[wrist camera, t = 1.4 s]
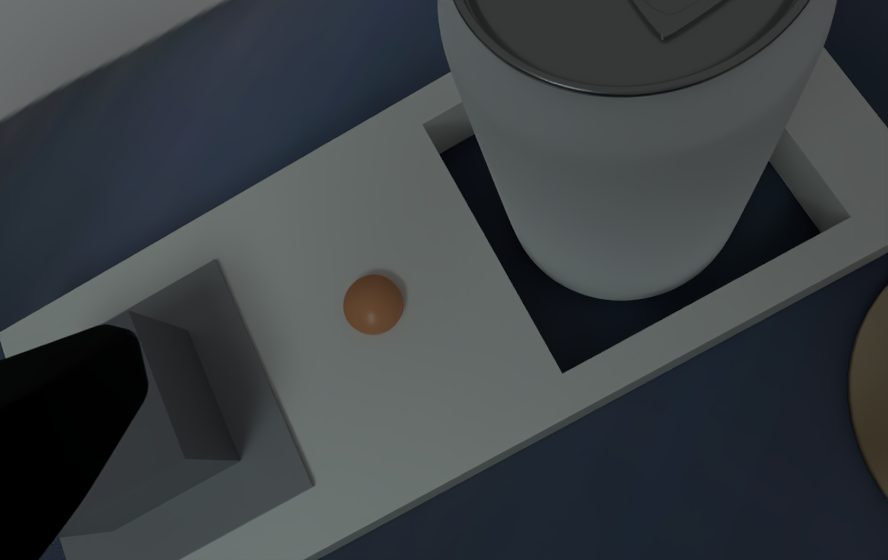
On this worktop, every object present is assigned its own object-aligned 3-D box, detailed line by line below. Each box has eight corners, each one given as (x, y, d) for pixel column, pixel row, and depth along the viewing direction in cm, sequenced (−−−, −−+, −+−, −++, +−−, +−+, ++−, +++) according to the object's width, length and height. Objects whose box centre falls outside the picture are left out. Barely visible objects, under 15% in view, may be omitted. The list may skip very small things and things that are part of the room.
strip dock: (917, 236, 21) (956, 206, 18) (152, 648, 22) (98, 668, 20) (710, -36, 24) (721, -90, 22) (48, 345, 25) (-9, 332, 23)
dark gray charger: (243, 461, 21) (185, 458, 18) (116, 531, 21) (39, 539, 18) (190, 331, 22) (128, 310, 19) (71, 399, 22) (-9, 388, 19)
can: (645, 53, 24) (678, -339, 12) (788, 218, 22) (986, -67, 10) (468, 175, 24) (337, -99, 12) (592, 349, 22) (573, 214, 10)
